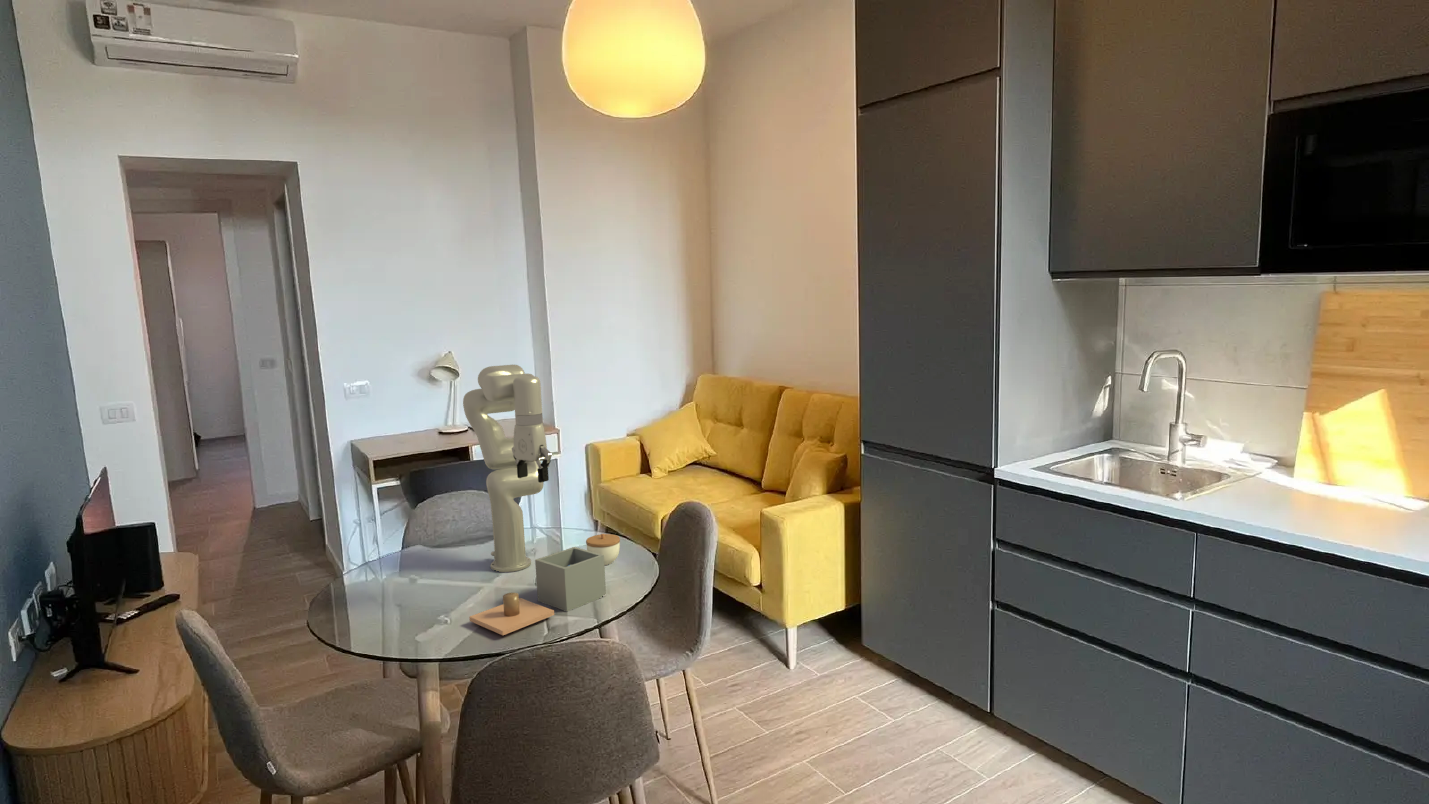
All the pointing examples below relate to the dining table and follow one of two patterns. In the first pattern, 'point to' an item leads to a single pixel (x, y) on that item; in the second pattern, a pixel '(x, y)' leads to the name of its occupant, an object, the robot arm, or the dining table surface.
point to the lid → (511, 615)
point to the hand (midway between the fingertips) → (533, 479)
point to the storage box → (570, 578)
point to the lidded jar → (604, 546)
